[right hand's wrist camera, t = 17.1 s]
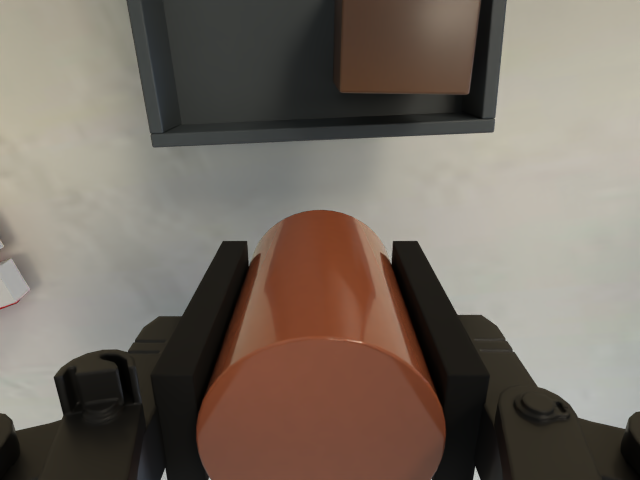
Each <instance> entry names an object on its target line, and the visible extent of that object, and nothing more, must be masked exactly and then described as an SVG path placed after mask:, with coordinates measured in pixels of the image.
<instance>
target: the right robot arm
mask: <svg viewBox="0 0 640 480" xmlns="http://www.w3.org/2000/svg"><path fill="white" fill-rule="evenodd" d="M248 268H249V264H248V248H247V241H223V242H222V244H221V246H220V247H219V249H218V251H217V253H216V255H215V257H214V259H213V260H212V262H211V264H210V266H209V268H208V270H207V271H206V273H205V275H204V277H203V279H202V281H201V282H200V284H199V286H198V288H197V290H196V292H195V294H194V295H193V297H192V299H191V301H190V303H189V305H188V306H187V308H186V310H185V312H184V314H183V316H159V317H158V318H156V319H155V320H153V321H152V322H151V323H149V324H148V325H146V326H145V327H144V328H143V329H142V331H141V332H140V334H139V335H138V337H137V338H136V340H135V343H133V344H132V346H131V347H130V349H129V350H128V352H124V351H121V350H100V351H95V352H91V353H87V354H85V355H82V356H80V357H78V358H75V359H73V360H72V361H70V362H69V363H67V364H66V365H64V366H63V367H61V369H60V370H59V371H58V372H57V374H56V375H55V376H54V380H55V384H56V388H57V392H58V396H59V399H60V403H61V407H62V411H63V418H62V420H59V421H56V422H53V423H49V424H45V425H40V426H36V427H31V428H27V429H22V430H18V431H15V428H14V425H13V421H12V420H11V419H10V418H9V417H8V416H7V415H6V414H1V413H0V480H161V477H162V475H163V472H164V469H165V468H166V474H167V480H208V479H209V476H208V474H207V472H206V470H205V468H204V467H203V465H202V462H201V459H200V456H199V453H198V448H197V442H196V423H197V417H198V412H199V409H200V406H201V403H202V401H203V398H204V395H205V392H206V389H207V386H208V383H209V380H210V377H211V375H212V372H213V369H214V366H215V363H216V360H217V357H218V354H219V351H220V349H221V346H222V343H223V340H224V337H225V334H226V331H227V328H228V326H229V323H230V320H231V317H232V314H233V311H234V308H235V305H236V302H237V300H238V297H239V294H240V291H241V288H242V285H243V282H244V279H245V276H246V274H247V271H248ZM392 268H393V270H394V273H395V276H396V279H397V282H398V285H399V287H400V290H401V293H402V296H403V299H404V301H405V304H406V307H407V310H408V313H409V315H410V318H411V321H412V324H413V327H414V329H415V332H416V335H417V338H418V341H419V343H420V346H421V349H422V352H423V355H424V358H425V360H426V363H427V366H428V369H429V372H430V374H431V377H432V380H433V383H434V386H435V388H436V391H437V394H438V397H439V400H440V402H441V405H442V409H443V413H444V416H445V422H446V442H445V448H444V452H443V456H442V459H441V462H440V464H439V466H438V468H437V471H436V472H435V474H434V475H433V477H432V480H473V476H474V470H475V466H476V469H477V472H478V474H479V477H480V479H481V480H640V412H635V413H634V414H633V415H632V416H631V417H630V418H629V419H628V423H627V426H626V429H622V428H618V427H613V426H609V425H604V424H600V423H595V422H591V421H588V420H584V419H581V418H578V417H577V415H576V413H575V412H574V410H573V409H572V407H571V406H570V404H568V403H567V402H566V401H565V400H563V399H562V398H561V397H560V396H558V395H556V394H554V393H552V392H550V391H548V390H546V389H543V388H539V387H537V385H536V384H535V382H534V381H533V379H532V378H531V376H530V375H529V373H528V372H527V370H526V369H525V367H524V366H523V364H522V363H521V361H520V360H519V358H518V357H517V355H516V354H515V352H513V351H512V348H511V346H510V345H509V343H508V342H507V341H505V337H504V336H503V334H502V333H501V331H500V330H499V328H498V327H497V326H496V325H495V324H493V323H492V322H491V321H489V320H488V319H486V318H485V317H483V316H482V315H457V313H456V311H455V310H454V308H453V306H452V304H451V302H450V300H449V299H448V297H447V295H446V293H445V291H444V289H443V288H442V286H441V284H440V282H439V280H438V278H437V276H436V275H435V273H434V271H433V269H432V267H431V265H430V264H429V262H428V260H427V258H426V256H425V254H424V253H423V251H422V249H421V247H420V245H419V243H418V242H417V241H393V251H392Z"/></svg>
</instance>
